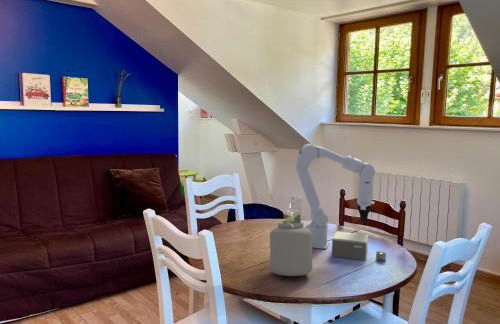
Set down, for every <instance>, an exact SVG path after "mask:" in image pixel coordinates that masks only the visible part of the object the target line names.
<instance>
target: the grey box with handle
mask: <svg viewBox="0 0 500 324" xmlns="http://www.w3.org/2000/svg"><path fill="white" fill-rule="evenodd" d="M331 241H332V242H331V257H335V256H336V258H337V257H338V258H343V257H344V258H345V259H351V258H352V259H353V260H359V259H360V260H361V261H366V260H367V257H366V243H361V242H352V241H343V240H334V239H333V238H332V240H331Z"/></svg>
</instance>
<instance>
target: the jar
mask: <svg viewBox="0 0 500 324" xmlns="http://www.w3.org/2000/svg"><path fill="white" fill-rule="evenodd" d="M291 205H292V204H291V203H289V208H290V209H291V207H292V206H291ZM290 209H289V210H287V212H290ZM290 216H292V214H291V215H290ZM292 220H293V219H292ZM269 260H270V261H269V267H270V270H271V272H272V273H274V274H275V275H278V276H287V277H299V276H300V277H301V276H305V275H306V276H307V275H308V274H310V273H311V272H312V270H313V247H312V233H311V231H310V230H308V229H307V228H305V227H304V222H301V223H283V222H279V223H277V227H274V228H273V229H272V230H271V231H270V233H269Z"/></svg>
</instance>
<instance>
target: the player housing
mask: <svg viewBox="0 0 500 324" xmlns="http://www.w3.org/2000/svg"><path fill="white" fill-rule="evenodd" d="M333 239H334V240H343V241H352V242H361V243H366V258H367V257H368V251H369V249H368V248H369V234H367V233H366V234H364V233H355V232H348V231H347V232H346V231H336V232H335V233H334V235H333V237H332V240H333ZM334 257H336V256H334ZM336 258H337V257H336ZM342 258H344V257H342ZM350 259H352V258H350ZM358 260H360V259H358Z"/></svg>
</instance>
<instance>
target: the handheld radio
mask: <svg viewBox="0 0 500 324" xmlns="http://www.w3.org/2000/svg"><path fill="white" fill-rule="evenodd" d="M291 215H292V216H291ZM291 215H289V216H288V217H287V218H285V219H283V220H282V223H302V221H301V215H302V214H301V212H300V211H296V212H293V213H291ZM292 219H293V220H292Z"/></svg>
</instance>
